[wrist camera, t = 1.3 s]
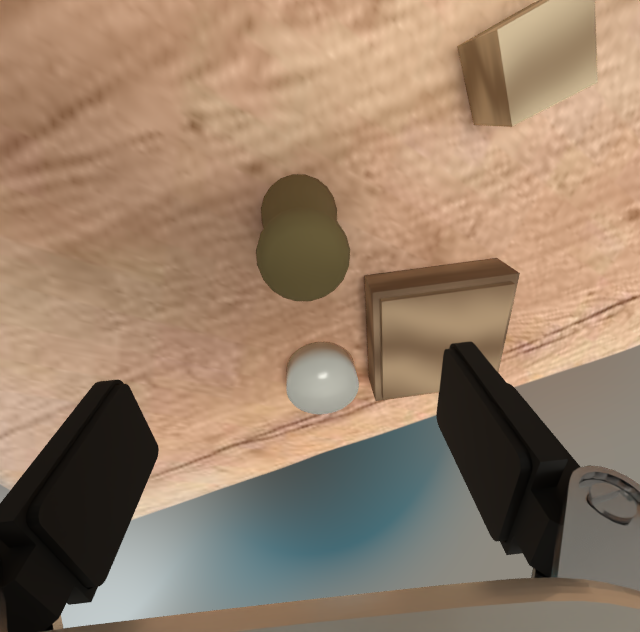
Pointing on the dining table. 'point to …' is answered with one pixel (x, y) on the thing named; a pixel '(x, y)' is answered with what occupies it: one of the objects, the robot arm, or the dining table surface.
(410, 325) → the walnut stand
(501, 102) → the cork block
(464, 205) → the dining table surface
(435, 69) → the dining table surface
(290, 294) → the pepper shaker
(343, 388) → the pale grey dome
